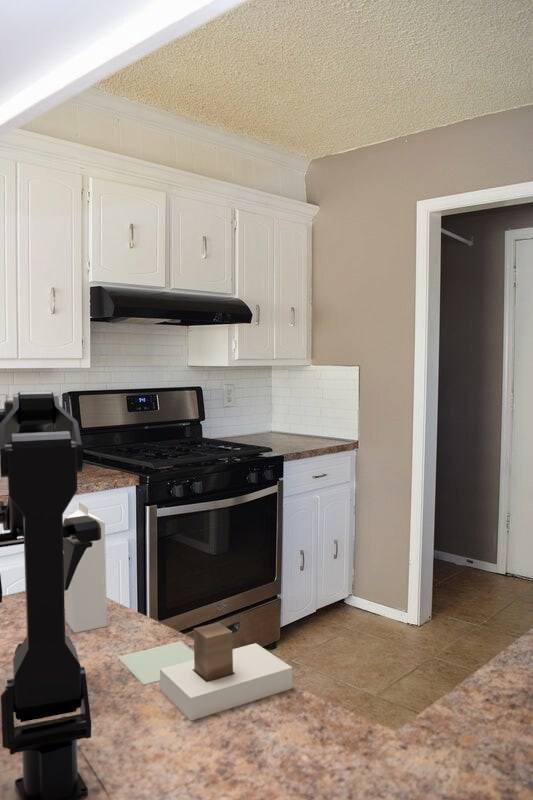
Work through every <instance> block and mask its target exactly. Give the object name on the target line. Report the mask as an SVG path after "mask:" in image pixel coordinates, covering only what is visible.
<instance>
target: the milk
mask: <svg viewBox="0 0 533 800" xmlns="http://www.w3.org/2000/svg"><path fill="white" fill-rule="evenodd" d="M80 516H88V517H90V518H92V519H94V520H96V521H97V522H98V523H99V524H100V527H101V539H100V540H97V541H91V542H92V543H93V545H92V547H89V548H87V549H86V550H85V552H84V554H83V556H82V558H81V560H80V562H79V564H78V566H77V568H76V570H75V573H74V575H73V578H72V580H71V583H70V585H69V588H68V590H64V604H65V623H66V625H68V627H69V628H70V629H71V632H73V634H76V633H81V632H86V631H90V630H91V631H92V630H96V629H101V628H105V627H108V603H107V566H106V565H107V564H106V563H107V562H106V561H107V560H106V559H107V558H106V555H107V554H106V524H105V522H104V521H103V520H102V519H100V518H99V517H97V516H96V515H94V514H91V513H90V512H89V506H87V504H85V503H83V502H81V500H79V502H78V509H77V510H76V511H74V512H73V513H71V514H70V515H69V516H68V517H66V518H72V517H80ZM63 522H64V519H63Z"/></svg>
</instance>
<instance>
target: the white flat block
mask: <svg viewBox="0 0 533 800" xmlns="http://www.w3.org/2000/svg"><path fill="white" fill-rule="evenodd" d="M159 689H160V691H161V692H162V693H163V694H164V695H165V696H166V697H167V698H168V699H169V700H170V701H171V703H173V704H174V706H176V708H177V709H179V710H180V711H181V713H183V715H184V716H185V717H187V718H188V720H189V721H195V720H198V719H200V718H201V719H202V718H203V717H204V718H205V717H206V716H210V715H213V714H216V713H220V712H223V711H227V710H228V709H229V710H230V709H232V708H236V707H238V706H239V707H240V706H241V705H245V704H248V703H250V702H255V701H257V700H261V699H264V698H267V697H270V696H273V695H276V694H279V693H283V692H286V691H288V690H292V689H293V667H292V666H291V665H289V664H288V663H286V662H285V661H283V660H282V659H280V658H279V657H278V656H275V655H274V654H273V653H271V652H270V651H268V650H267V649H265V648H263V647H262V646H261V645H259V644H258V643H256V642H254V643H251V644H248V645H243V646H240V647H237V648H233V675H230V676H227V677H223V678H220V679H216V680H213V681H210V682H205V681H204V680H203V679H202V678H201V677H200V676H198V675H197V674H196V673H195V672H194V660H191V661H187V662H184V663H180V664H176V665H173V666H169V667H165V668H161V669H160V681H159Z"/></svg>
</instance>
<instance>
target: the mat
mask: <svg viewBox="0 0 533 800" xmlns="http://www.w3.org/2000/svg"><path fill="white" fill-rule="evenodd" d="M117 659H118V661H120V662H121V663H122V664H123V665H124V667H125V668H126V669H127V670H128V671H129V672H130V673H131V674H132V675H133V676H134V677H135V678H136V679H137V681H139V682H140V683H141V684H142V685H143V686H147V685H151V684H154V683H157V682H160V669H161V668H165V667H169V666H173V665H176V664H180V663H184V662H187V661H191V660H194V650H193V649H191V648H190V647H189V646H188V645H186V643H184V642H183V641H175V642H172V643H167V644H163V645H158V646H156V647H152V648H151V647H150V648H147V649H143V650H140V651H136V652H131V653H128V654H123V655H120V656H117Z"/></svg>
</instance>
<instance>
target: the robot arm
mask: <svg viewBox="0 0 533 800" xmlns="http://www.w3.org/2000/svg"><path fill="white" fill-rule="evenodd" d="M83 466H84V453H83V445H82V439H81V433H80V427H79V422H78V420H77V419H75V418H74V417H73V416H72V415H71V414H70V413H69V412H68V411H67V410H66V409H64V408H63V407H62V406H61V405H60V399H59V394H58V392H53V391H52V390H31V391H28V390H27V391H18V392H17V393H13V395H12V400H5V401H4V402H3V408H0V478H1V479H2V478H3V479H4V478H7V488H8V494H7V495H8V496H7V504H6V505H5V503H4V500H0V525H1V524H2V529H3V531H9V532H2V533H0V548H4V547H5V548H7V547H12V546H18V545H23V547H24V548H23V549H24V551H23V552H24V553H23V554H24V555H23V556H24V586H25V618H26V619H25V623H26V624H25V626H26V636H25V638H24V640H23V641H22V643H18V644H17V646H16V648H15V651H14V656H13V659H12V665H13V666H12V670H13V671H12V672H13V674H12V675H13V676H12V677H13V678H11V679H6V686H4V687H5V689H4V690H3V692H2V693H1V695H0V707H1V708H0V711H1V737H2V738H1V739H2V740H1V741H2V745H1V746H2V748H4V749H7V750H9V755H10V756H11V755H16V754H17V753H21V752H22V777H19V778H16V779H15V781H14V787H15V790H16V791H17V794H18V797H19V798H20V800H77V799H78V800H79V799H80V798H83V797H85V796H87V795H88V794H89V788H88V786H87V785H86V783H85V781H84V779H83V778H82V776H81V775H80V773H79V770H78V747H77V746H78V740H82V739H91V738H92V717H91V708H90V701H89V699H90V698H89V692H88V691H89V690H88V683H87V674H86V669H85V666H81V664H80V659H79V656H78V653H77V649H76V647H75V645H74V644H73V641H72V639H71V638H70V636H68V635H66V603H65V590H68V588H69V585H70V583H71V580H72V578H73V575H74V573H75V570H76V568H77V566H78V564H79V562H80V560H81V558H82V556H83V554H84V552H85V550H86V549H87V548H89V547H92V545H93V543H92V542H91V541H97V540H100V539H101V527H100V524H99V523H98V522H97V521H96V520H94V519H92V518H90V517H88V516H80V517H72V518H67V517H66V518H64V513H65V511H66V510H67V508H68V506H69V505H70V504H71V501H72V500H73V498H74V497H75V495H76V494H77V491H78V473H82V472H83ZM63 520H64V522H63ZM2 603H3V585H2V577H1V574H0V604H2ZM77 709H79V710H80V711H79V712H80V713H78V714H72V715H68V716H62V717H58V718H52V719H48V720H43V721H38V722H37V720H39V719H44V718H45V719H46V718H49V717H54V716H55V717H56V716H61V715H65V714H70V713H76V712H77ZM14 715H15V717H14ZM15 719H16V720H20V721H19V722H20V723H26V722H29V721H35V720H36V722H32V723H28V724H23V725H18V726H15Z"/></svg>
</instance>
